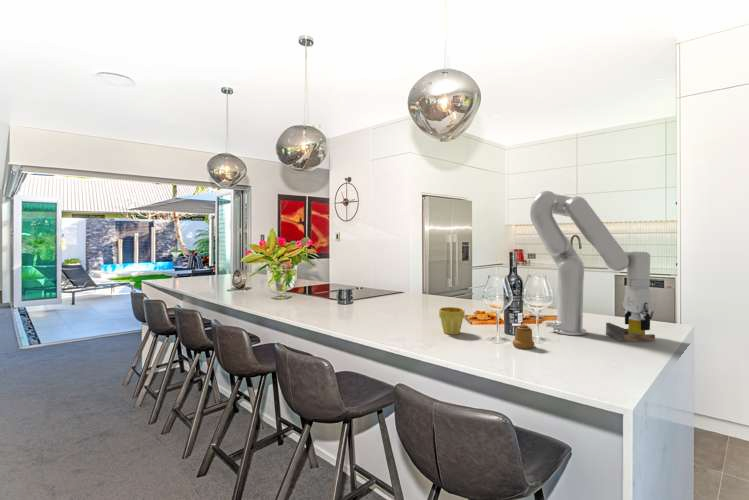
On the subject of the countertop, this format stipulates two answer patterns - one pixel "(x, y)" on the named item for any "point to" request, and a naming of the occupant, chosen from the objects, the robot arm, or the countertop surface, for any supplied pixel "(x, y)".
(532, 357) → the countertop surface
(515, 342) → the ornamental finial
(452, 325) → the plant pot
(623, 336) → the guide track
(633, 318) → the supplement bottle
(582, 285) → the robot arm
